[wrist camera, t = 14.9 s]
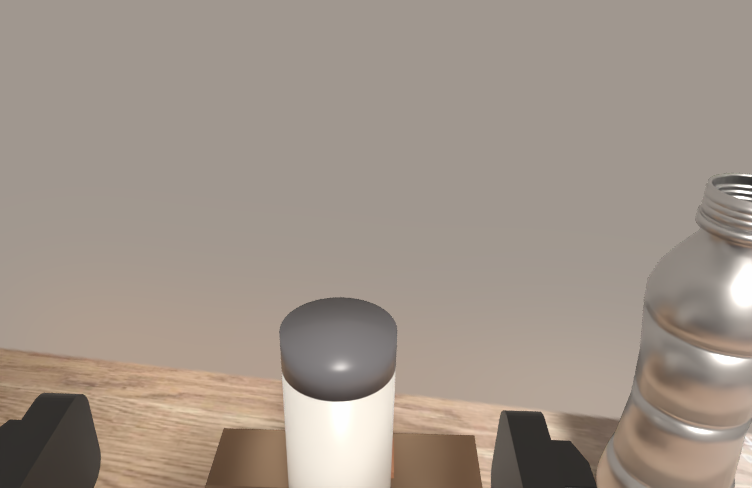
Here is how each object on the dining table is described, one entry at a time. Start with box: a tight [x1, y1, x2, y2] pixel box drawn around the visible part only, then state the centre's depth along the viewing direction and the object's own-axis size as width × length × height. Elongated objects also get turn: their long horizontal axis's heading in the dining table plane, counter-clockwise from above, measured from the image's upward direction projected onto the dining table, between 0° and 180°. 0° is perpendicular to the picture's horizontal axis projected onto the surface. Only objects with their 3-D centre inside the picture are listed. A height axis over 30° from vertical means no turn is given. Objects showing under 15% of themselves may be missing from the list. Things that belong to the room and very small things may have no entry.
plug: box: [279, 298, 397, 488], centre depth 28 cm, size 4×4×16 cm
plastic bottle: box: [596, 173, 752, 488], centre depth 31 cm, size 6×7×20 cm
